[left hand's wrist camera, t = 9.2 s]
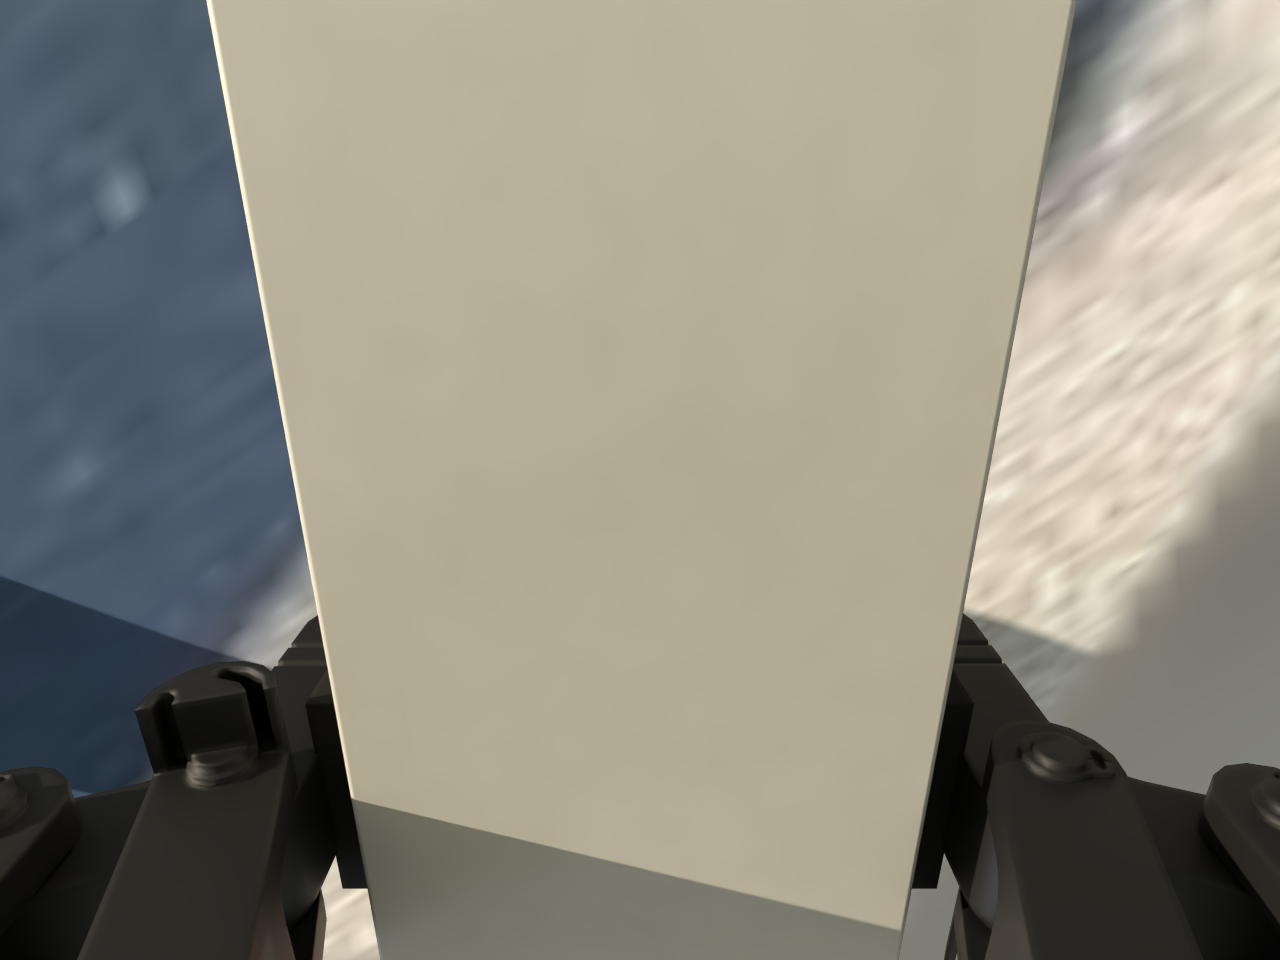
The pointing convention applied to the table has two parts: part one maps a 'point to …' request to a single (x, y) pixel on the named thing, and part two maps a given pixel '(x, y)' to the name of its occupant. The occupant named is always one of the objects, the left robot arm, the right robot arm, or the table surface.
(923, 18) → the bar
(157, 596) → the table surface
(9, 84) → the table surface
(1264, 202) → the table surface
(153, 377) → the table surface
